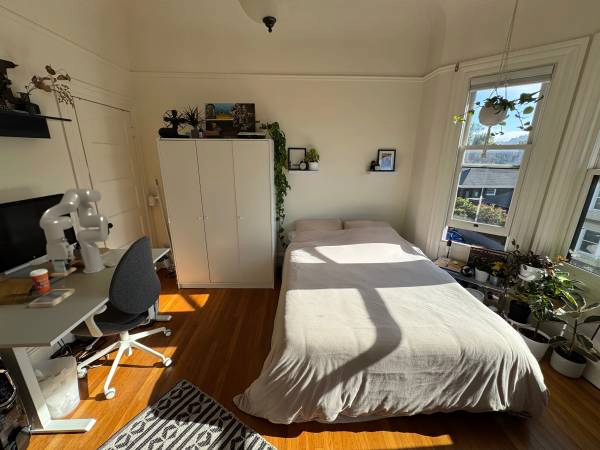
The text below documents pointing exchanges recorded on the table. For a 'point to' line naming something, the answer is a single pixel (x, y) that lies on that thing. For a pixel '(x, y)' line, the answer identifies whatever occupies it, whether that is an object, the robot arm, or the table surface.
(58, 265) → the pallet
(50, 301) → the wooden picture frame
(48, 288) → the paper cup
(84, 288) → the table surface
